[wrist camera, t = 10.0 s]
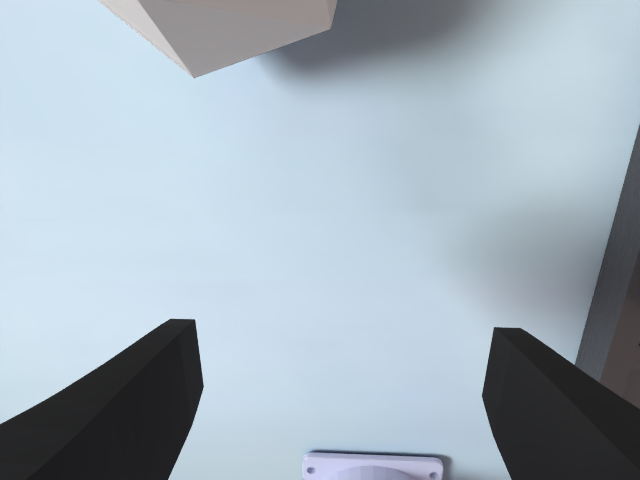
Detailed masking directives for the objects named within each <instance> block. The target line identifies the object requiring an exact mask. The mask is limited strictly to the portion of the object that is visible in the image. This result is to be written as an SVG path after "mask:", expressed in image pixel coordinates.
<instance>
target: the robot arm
mask: <svg viewBox="0 0 640 480" xmlns="http://www.w3.org/2000/svg"><path fill="white" fill-rule="evenodd" d="M203 387H204V386H203V378H202V370H201V362H200V354H199V347H198V339H197V331H196V323H195V320H194V319H170V320H168V321H166V322H165V323H163V324H161V325H160V326H158V327H157V328H155V329H154V330H152V331H151V332H149V333H148V334H147V335H145V336H144V337H142V338H141V339H139V340H138V341H136V342H135V343H134V344H132V345H131V346H129V347H128V348H126V349H125V350H123V351H122V352H120V353H119V354H118V355H116V356H115V357H113V358H112V359H110V360H109V361H107V362H106V363H104V364H103V365H101V366H100V367H98V368H97V369H95V370H93V371H92V372H90V373H89V374H87V375H85V376H84V377H82V378H81V379H79V380H77V381H76V382H74V383H73V384H71V385H69V386H68V387H66V388H65V389H63V390H62V391H60V392H58V393H57V394H55V395H53V396H51V397H50V398H48V399H46V400H44V401H43V402H41V403H39V404H37V405H36V406H34V407H32V408H30V409H28V410H26V411H24V412H23V413H21V414H19V415H17V416H15V417H13V418H11V419H9V420H7V421H6V422H4V423H2V424H0V480H168V478H169V476H170V474H171V472H172V470H173V467H174V465H175V463H176V461H177V458H178V456H179V454H180V452H181V449H182V447H183V445H184V443H185V440H186V438H187V436H188V434H189V431H190V429H191V427H192V424H193V421H194V418H195V414H196V411H197V408H198V405H199V401H200V398H201V394H202V391H203ZM482 398H483V402H484V405H485V409H486V413H487V416H488V420H489V423H490V427H491V430H492V433H493V437H494V439H495V441H496V444H497V446H498V449H499V451H500V453H501V456H502V458H503V461H504V463H505V465H506V468H507V470H508V472H509V475H510V477H511V479H512V480H640V409H639V408H637V407H636V406H634V405H633V404H631V403H630V402H628V401H626V400H625V399H623V398H622V397H620V396H619V395H617V394H616V393H614V392H613V391H611V390H610V389H608V388H607V387H605V386H604V385H602V384H601V383H599V382H598V381H596V380H595V379H593V378H592V377H590V376H589V375H588V374H586V373H585V372H583V371H582V370H580V369H579V368H578V367H576V366H575V365H573V364H572V363H571V362H569V361H568V360H566V359H565V358H564V357H562V356H561V355H559V354H558V353H557V352H555V351H554V350H552V349H551V348H550V347H548V346H547V345H545V344H544V343H542V342H541V341H540V340H538V339H537V338H535V337H534V336H532V335H531V334H529V333H528V332H526V331H524V330H523V329H521V328H499V327H494V331H493V337H492V342H491V348H490V353H489V359H488V365H487V370H486V376H485V382H484V387H483V393H482ZM310 467H313V468H310ZM443 470H444V468H443V463H442V461H441V460H440V459H438V458H435V457H411V456H387V455H362V454H337V453H312V452H311V453H307V454H305V455H304V457H303V480H442V476H443ZM433 472H435V473H433Z"/></svg>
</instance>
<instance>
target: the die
mask: <svg viewBox="0 0 640 480" xmlns="http://www.w3.org/2000/svg"><path fill="white" fill-rule="evenodd" d="M98 1H99V2H100V3H101V4H103V5H104V6H105V7H106V8H108V9H109V10H110V11H111V12H113V13H114V14H115V15H116V16H118V17H119V18H120V19H121V20H122V21H124V22H125V23H126V24H127V25H129V26H130V27H131V28H132V29H134V30H135V31H136V32H137V33H139V34H140V35H141V36H142V37H144V38H145V39H146V40H147V41H149V42H150V43H151V44H152V45H154V46H155V47H156V48H157V49H159V50H160V51H161V52H162V53H163V54H165V55H166V56H167V57H168V58H170V59H171V60H172V61H173V62H175V63H176V64H177V65H178V66H180V67H181V68H182V69H183V70H185V71H186V72H187V73H188V74H190V75H191V76H192V77H193V78H196V77H199V76H202V75H205V74H207V73H210V72H213V71H216V70H218V69H221V68H224V67H227V66H229V65H232V64H235V63H238V62H241V61H243V60H246V59H249V58H252V57H254V56H257V55H260V54H263V53H266V52H268V51H271V50H274V49H277V48H279V47H282V46H285V45H288V44H290V43H293V42H296V41H299V40H302V39H304V38H307V37H310V36H313V35H315V34H318V33H321V32H324V31H327V30H329V29H331V26H332V22H333V18H334V14H335V9H336V5H337V1H338V0H98Z"/></svg>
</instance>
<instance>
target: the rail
mask: <svg viewBox="0 0 640 480" xmlns="http://www.w3.org/2000/svg"><path fill="white" fill-rule="evenodd" d="M575 366H576V367H578V368H579V369H580V370H582V371H583V372H585V373H586V374H588V375H589V376H590V377H592V378H593V379H595V380H596V381H598V382H599V383H601V384H602V385H604V386H605V387H607V388H608V389H610V390H611V391H613V392H614V393H616V394H617V395H619V396H620V397H622V398H623V399H625V400H626V401H628V402H630V403H631V404H633V405H634V406H636V407H637V408H639V409H640V125H639V129H638V133H637V136H636V140H635V144H634V148H633V151H632V155H631V159H630V162H629V166H628V170H627V174H626V177H625V181H624V185H623V188H622V192H621V196H620V199H619V203H618V207H617V211H616V214H615V218H614V222H613V225H612V229H611V233H610V237H609V240H608V244H607V248H606V251H605V255H604V259H603V262H602V266H601V270H600V274H599V277H598V281H597V285H596V288H595V292H594V296H593V300H592V303H591V307H590V311H589V314H588V318H587V322H586V326H585V329H584V333H583V337H582V340H581V344H580V348H579V351H578V355H577V359H576V363H575Z"/></svg>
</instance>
